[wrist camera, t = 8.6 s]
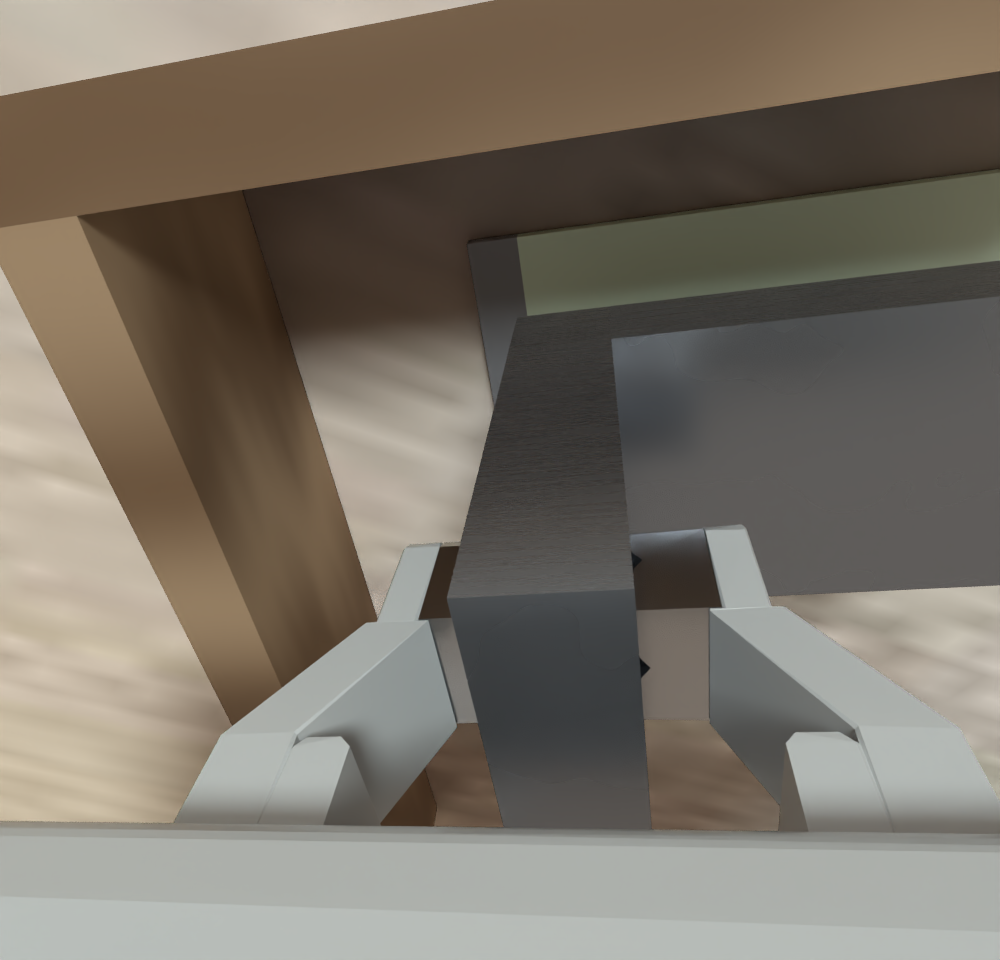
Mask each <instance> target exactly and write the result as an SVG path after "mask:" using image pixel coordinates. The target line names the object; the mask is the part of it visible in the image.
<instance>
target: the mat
mask: <svg viewBox="0 0 1000 960" xmlns="http://www.w3.org/2000/svg"><path fill="white" fill-rule="evenodd" d="M467 248H468V254H469V260H470V266H471V272H472V278H473V284H474V290H475V295H476V301H477V307H478V313H479V319H480V325H481V331H482V336H483V342H484V348H485V354H486V360H487V366H488V372H489V378H490V383H491V389H492V395H493V401H494V407H495V403H496V399H497V395H498V391H499V387H500V383H501V379H502V375H503V371H504V367H505V363H506V359H507V355H508V351H509V347H510V343H511V339H512V335H513V331H514V327H515V323H516V319H517V317H523V316H531V315H540V314H548V313H557V312H565V311H574V310H582V309H591V308H599V307H608V306H616V305H625V304H633V303H642V302H650V301H659V300H667V299H676V298H684V297H693V296H701V295H710V294H718V293H727V292H735V291H744V290H752V289H761V288H769V287H778V286H786V285H795V284H803V283H812V282H820V281H829V280H837V279H846V278H854V277H863V276H871V275H880V274H888V273H897V272H905V271H914V270H922V269H931V268H939V267H948V266H956V265H965V264H973V263H982V262H990V261H999V260H1000V169H996V170H988V171H981V172H973V173H966V174H959V175H951V176H944V177H936V178H929V179H922V180H914V181H907V182H899V183H892V184H885V185H877V186H870V187H863V188H855V189H848V190H840V191H833V192H826V193H818V194H811V195H803V196H796V197H789V198H781V199H774V200H766V201H759V202H752V203H744V204H737V205H730V206H722V207H715V208H707V209H700V210H693V211H685V212H678V213H670V214H663V215H656V216H648V217H641V218H633V219H626V220H619V221H611V222H604V223H597V224H589V225H582V226H574V227H567V228H560V229H552V230H545V231H537V232H530V233H523V234H515V235H508V236H500V237H493V238H486V239H478V240H471V241H469V242H468V243H467Z"/></svg>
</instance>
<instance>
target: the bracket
mask: <svg viewBox="0 0 1000 960" xmlns="http://www.w3.org/2000/svg"><path fill="white" fill-rule="evenodd" d="M739 524H742V525H743V526H744V527H745V528H746V529H747V532H748V535H749V538H750V541H751V544H752V548H753V551H754V554H755V557H756V560H757V563H758V566H759V569H760V572H761V575H762V578H763V581H764V584H765V587H766V590H767V593H768V596H783V595H804V594H825V593H846V592H867V591H888V590H909V589H930V588H951V587H972V586H993V585H1000V260H999V261H990V262H982V263H973V264H965V265H956V266H948V267H939V268H931V269H922V270H914V271H905V272H897V273H888V274H880V275H871V276H863V277H854V278H846V279H837V280H829V281H820V282H812V283H803V284H795V285H786V286H778V287H769V288H761V289H752V290H744V291H735V292H727V293H718V294H710V295H701V296H693V297H684V298H676V299H667V300H659V301H650V302H642V303H633V304H625V305H616V306H608V307H599V308H591V309H582V310H574V311H565V312H557V313H548V314H540V315H531V316H523V317H517V319H516V323H515V327H514V331H513V335H512V339H511V343H510V347H509V351H508V355H507V359H506V363H505V367H504V371H503V375H502V379H501V383H500V387H499V391H498V395H497V399H496V403H495V407H494V411H493V415H492V419H491V423H490V427H489V431H488V435H487V439H486V443H485V447H484V451H483V455H482V459H481V463H480V467H479V471H478V475H477V479H476V483H475V487H474V491H473V495H472V499H471V503H470V507H469V511H468V515H467V519H466V523H465V527H464V531H463V535H462V539H461V543H460V547H459V551H458V555H457V559H456V563H455V567H454V571H453V575H452V579H451V583H450V587H449V591H448V595H447V602H448V606H449V610H450V614H451V618H452V622H453V626H454V630H455V634H456V638H457V642H458V646H459V650H460V654H461V658H462V662H463V666H464V670H465V674H466V678H467V682H468V686H469V690H470V694H471V698H472V702H473V706H474V710H475V714H476V718H477V722H478V726H479V730H480V734H481V738H482V742H483V746H484V750H485V754H486V758H487V762H488V766H489V770H490V774H491V778H492V782H493V786H494V790H495V794H496V798H497V802H498V806H499V810H500V814H501V818H502V822H503V826H504V828H578V829H652V827H651V813H650V799H649V785H648V771H647V757H646V743H645V729H644V715H643V701H642V687H641V673H640V659H639V645H638V631H637V617H636V603H635V589H634V579H633V568H632V557H631V546H630V536H629V534H634V533H649V532H664V531H678V530H693V529H703V528H706V527H717V526H728V525H739Z"/></svg>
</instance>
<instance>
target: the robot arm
mask: <svg viewBox="0 0 1000 960" xmlns="http://www.w3.org/2000/svg"><path fill="white" fill-rule="evenodd" d="M629 536H630V546H631V557H632V568H633V579H634V589H635V603H636V617H637V631H638V645H639V659H640V673H641V687H642V701H643V715H644V719H653V720H710V724H711V725H712V727H713V728H714V729H715V730H716V731H717V732H718V734H719V735H720V736H721V737H722V738H723V739H724V741H725V742H726V743H727V744H728V745H729V747H730V748H731V749H732V750H733V751H734V752H735V754H736V755H737V756H738V757H739V758H740V759H741V761H742V762H743V763H744V764H745V765H746V766H747V768H748V769H749V770H750V771H751V772H752V774H753V775H754V776H755V777H756V778H757V779H758V781H759V782H760V783H761V784H762V785H763V786H764V788H765V789H766V790H767V791H768V792H769V794H770V795H771V796H772V797H773V798H774V799H775V801H776V802H777V803H778V804H779V805H780V816H779V827H778V831H727V830H653V829H578V828H503V827H427V826H381V824H380V823H381V822H382V820H383V819H384V818H385V817H386V815H387V814H388V813H389V812H390V810H391V809H392V808H393V807H394V805H395V804H396V803H397V802H398V800H399V799H400V798H401V797H402V795H403V794H404V793H405V792H406V790H407V789H408V788H409V787H410V785H411V784H412V783H413V782H414V780H415V779H416V778H417V777H418V775H419V774H420V773H421V772H422V770H423V769H424V768H425V767H426V765H427V764H428V763H429V762H430V760H431V759H432V758H433V757H434V756H435V754H436V753H437V752H438V751H439V749H440V748H441V747H442V746H443V744H444V743H445V742H446V741H447V739H448V738H449V737H450V736H451V734H452V733H453V732H454V731H455V729H456V728H457V725H456V724H458V723H478V722H477V718H476V714H475V710H474V706H473V702H472V698H471V694H470V690H469V686H468V682H467V678H466V674H465V670H464V666H463V662H462V658H461V654H460V650H459V646H458V642H457V638H456V634H455V630H454V626H453V622H452V618H451V614H450V610H449V606H448V602H447V595H448V591H449V587H450V583H451V579H452V575H453V571H454V567H455V563H456V559H457V555H458V551H459V547H460V543H461V542H446V543H444V544H443V543H428V544H410V545H409V546H407V547H406V548H405V549H404V550H403V553H402V556H401V558H400V561H399V564H398V566H397V569H396V571H395V574H394V577H393V579H392V582H391V585H390V587H389V590H388V593H387V595H386V598H385V601H384V603H383V606H382V608H381V611H380V614H379V616H378V619H377V622H371V623H365V624H364V625H363V626H361V627H360V628H359V629H357V630H356V631H355V632H354V633H352V634H351V635H350V636H348V637H347V638H346V639H344V640H343V641H342V642H341V643H339V644H338V645H337V646H335V647H334V648H333V649H332V650H330V651H329V652H328V653H326V654H325V655H324V656H322V657H321V658H320V659H319V660H317V661H316V662H315V663H313V664H312V665H311V666H309V667H308V668H307V669H306V670H304V671H303V672H302V673H300V674H299V675H298V676H297V677H295V678H294V679H293V680H291V681H290V682H289V683H287V684H286V685H285V686H284V687H282V688H281V689H280V690H278V691H277V692H276V693H275V694H273V695H272V696H271V697H269V698H268V699H267V700H265V701H264V702H263V703H262V704H260V705H259V706H258V707H256V708H255V709H254V710H253V711H251V712H250V713H249V714H247V715H246V716H245V717H243V718H242V719H241V720H240V721H238V722H237V723H236V724H234V725H233V726H232V727H231V728H229V729H228V730H227V731H225V732H224V733H223V734H221V736H220V738H219V740H218V741H217V743H216V745H215V747H214V749H213V751H212V753H211V754H210V756H209V758H208V760H207V762H206V764H205V765H204V767H203V769H202V771H201V773H200V775H199V776H198V778H197V780H196V782H195V784H194V786H193V788H192V789H191V791H190V793H189V795H188V797H187V799H186V800H185V802H184V804H183V806H182V808H181V810H180V811H179V813H178V815H177V817H176V819H175V821H174V823H120V822H44V821H0V960H1000V801H999V799H998V797H997V796H996V794H995V792H994V790H993V788H992V786H991V785H990V783H989V781H988V779H987V777H986V775H985V773H984V772H983V770H982V768H981V766H980V764H979V762H978V761H977V759H976V757H975V755H974V753H973V751H972V749H971V748H970V746H969V744H968V742H967V740H966V738H965V737H964V735H963V733H962V731H961V729H960V728H959V727H958V726H956V725H955V724H953V723H952V722H950V721H949V720H948V719H946V718H945V717H943V716H942V715H940V714H939V713H937V712H936V711H935V710H933V709H932V708H930V707H929V706H927V705H926V704H924V703H923V702H922V701H920V700H919V699H917V698H916V697H914V696H913V695H912V694H910V693H909V692H907V691H906V690H904V689H903V688H901V687H900V686H899V685H897V684H896V683H894V682H893V681H891V680H890V679H888V678H887V677H886V676H884V675H883V674H881V673H880V672H878V671H877V670H875V669H874V668H873V667H871V666H870V665H868V664H867V663H865V662H864V661H863V660H861V659H860V658H858V657H857V656H855V655H854V654H852V653H851V652H850V651H848V650H847V649H845V648H844V647H842V646H841V645H839V644H838V643H837V642H835V641H834V640H832V639H831V638H829V637H828V636H827V635H825V634H824V633H822V632H821V631H819V630H818V629H816V628H815V627H814V626H812V625H811V624H809V623H808V622H806V621H805V620H803V619H802V618H801V617H799V616H798V615H796V614H795V613H793V612H792V611H790V610H789V609H788V608H786V607H785V606H772V605H771V602H770V599H769V596H768V593H767V590H766V587H765V584H764V581H763V578H762V575H761V572H760V569H759V566H758V563H757V560H756V557H755V554H754V551H753V548H752V544H751V541H750V538H749V535H748V532H747V529H746V528H745V527H744V526H743V525H742V524H739V525H728V526H717V527H706V528H703V529H693V530H678V531H664V532H649V533H634V534H629Z"/></svg>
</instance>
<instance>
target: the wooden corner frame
mask: <svg viewBox="0 0 1000 960" xmlns="http://www.w3.org/2000/svg"><path fill="white" fill-rule="evenodd" d="M997 71H1000V0H494V1H488V2H483V3H478V4H473V5H468V6H463V7H458V8H452V9H447V10H442V11H437V12H432V13H427V14H421V15H416V16H411V17H406V18H401V19H396V20H391V21H385V22H380V23H375V24H370V25H365V26H360V27H354V28H349V29H344V30H339V31H334V32H329V33H324V34H318V35H313V36H308V37H303V38H298V39H293V40H287V41H282V42H277V43H272V44H267V45H262V46H257V47H251V48H246V49H241V50H236V51H231V52H226V53H220V54H215V55H210V56H205V57H200V58H195V59H189V60H184V61H179V62H174V63H169V64H164V65H159V66H153V67H148V68H143V69H138V70H133V71H128V72H122V73H117V74H112V75H107V76H102V77H97V78H92V79H86V80H81V81H76V82H71V83H66V84H61V85H55V86H50V87H45V88H40V89H35V90H30V91H25V92H19V93H14V94H9V95H4V96H0V266H1V268H2V270H3V272H4V274H5V276H6V278H7V280H8V282H9V284H10V286H11V288H12V290H13V292H14V294H15V296H16V298H17V300H18V302H19V304H20V306H21V308H22V309H23V311H24V313H25V315H26V317H27V319H28V321H29V323H30V325H31V327H32V329H33V331H34V333H35V335H36V337H37V339H38V341H39V343H40V345H41V347H42V349H43V351H44V353H45V355H46V357H47V359H48V361H49V363H50V365H51V367H52V369H53V371H54V373H55V375H56V377H57V379H58V381H59V383H60V385H61V387H62V389H63V391H64V393H65V395H66V397H67V399H68V401H69V403H70V405H71V407H72V409H73V411H74V413H75V415H76V417H77V419H78V421H79V423H80V425H81V427H82V428H83V430H84V432H85V434H86V436H87V438H88V440H89V442H90V444H91V446H92V448H93V450H94V452H95V454H96V456H97V458H98V460H99V462H100V464H101V466H102V468H103V470H104V472H105V474H106V476H107V478H108V480H109V482H110V484H111V486H112V488H113V490H114V492H115V494H116V496H117V498H118V500H119V502H120V504H121V506H122V508H123V510H124V512H125V514H126V516H127V518H128V520H129V522H130V524H131V526H132V528H133V530H134V532H135V534H136V536H137V538H138V540H139V542H140V544H141V546H142V547H143V549H144V551H145V553H146V555H147V557H148V559H149V561H150V563H151V565H152V567H153V569H154V571H155V573H156V575H157V577H158V579H159V581H160V583H161V585H162V587H163V589H164V591H165V593H166V595H167V597H168V599H169V601H170V603H171V605H172V607H173V609H174V611H175V613H176V615H177V617H178V619H179V621H180V623H181V625H182V627H183V629H184V631H185V633H186V635H187V637H188V639H189V641H190V643H191V645H192V647H193V649H194V651H195V653H196V655H197V657H198V659H199V661H200V663H201V665H202V666H203V668H204V670H205V672H206V674H207V676H208V678H209V680H210V682H211V684H212V686H213V688H214V690H215V692H216V694H217V696H218V698H219V700H220V702H221V704H222V706H223V708H224V710H225V712H226V714H227V716H228V718H229V720H230V722H231V724H232V726H233V725H234V724H236V723H237V722H238V721H240V720H241V719H242V718H243V717H245V716H246V715H247V714H249V713H250V712H251V711H253V710H254V709H255V708H256V707H258V706H259V705H260V704H262V703H263V702H264V701H265V700H267V699H268V698H269V697H271V696H272V695H273V694H275V693H276V692H277V691H278V690H280V689H281V688H282V687H284V686H285V685H286V684H287V683H289V682H290V681H291V680H293V679H294V678H295V677H297V676H298V675H299V674H300V673H302V672H303V671H304V670H306V669H307V668H308V667H309V666H311V665H312V664H313V663H315V662H316V661H317V660H319V659H320V658H321V657H322V656H324V655H325V654H326V653H328V652H329V651H330V650H332V649H333V648H334V647H335V646H337V645H338V644H339V643H341V642H342V641H343V640H344V639H346V638H347V637H348V636H350V635H351V634H352V633H354V632H355V631H356V630H357V629H359V628H360V627H361V626H363V625H364V624H365V623H371V622H377V617H376V613H375V610H374V607H373V604H372V601H371V598H370V594H369V591H368V588H367V585H366V582H365V579H364V575H363V572H362V569H361V566H360V563H359V560H358V556H357V553H356V550H355V547H354V544H353V541H352V537H351V534H350V531H349V528H348V525H347V522H346V518H345V515H344V512H343V509H342V506H341V503H340V499H339V496H338V493H337V490H336V487H335V484H334V480H333V477H332V474H331V471H330V468H329V465H328V461H327V458H326V455H325V452H324V449H323V446H322V443H321V439H320V436H319V433H318V430H317V427H316V424H315V420H314V417H313V414H312V411H311V408H310V405H309V401H308V398H307V395H306V392H305V389H304V386H303V382H302V379H301V376H300V373H299V370H298V367H297V363H296V360H295V357H294V354H293V351H292V348H291V344H290V341H289V338H288V335H287V332H286V329H285V325H284V322H283V319H282V316H281V313H280V310H279V306H278V303H277V300H276V297H275V294H274V291H273V287H272V284H271V281H270V278H269V275H268V272H267V268H266V265H265V262H264V259H263V256H262V253H261V249H260V246H259V243H258V240H257V237H256V234H255V230H254V227H253V224H252V221H251V218H250V215H249V211H248V208H247V205H246V202H245V199H244V196H243V192H242V190H245V189H251V188H257V187H264V186H270V185H277V184H283V183H289V182H296V181H302V180H308V179H315V178H321V177H328V176H334V175H340V174H347V173H353V172H359V171H366V170H372V169H379V168H385V167H391V166H398V165H404V164H410V163H417V162H423V161H430V160H436V159H442V158H449V157H455V156H461V155H468V154H474V153H481V152H487V151H493V150H500V149H506V148H512V147H519V146H525V145H532V144H538V143H544V142H551V141H557V140H563V139H570V138H576V137H583V136H589V135H595V134H602V133H608V132H614V131H621V130H627V129H634V128H640V127H646V126H653V125H659V124H665V123H672V122H678V121H685V120H691V119H697V118H704V117H710V116H716V115H723V114H729V113H736V112H742V111H748V110H755V109H761V108H767V107H774V106H780V105H787V104H793V103H799V102H806V101H812V100H818V99H825V98H831V97H838V96H844V95H850V94H857V93H863V92H869V91H876V90H882V89H889V88H895V87H901V86H908V85H914V84H920V83H927V82H933V81H940V80H946V79H952V78H959V77H965V76H971V75H978V74H984V73H991V72H997ZM436 811H437V807H436V803H435V800H434V797H433V794H432V791H431V788H430V784H429V781H428V778H427V775H426V772H425V769H423V770H422V772H421V773H420V774H419V775H418V777H417V778H416V779H415V780H414V782H413V783H412V784H411V785H410V787H409V788H408V789H407V790H406V792H405V793H404V794H403V795H402V797H401V798H400V799H399V800H398V802H397V803H396V804H395V805H394V807H393V808H392V809H391V810H390V812H389V813H388V814H387V815H386V817H385V818H384V819H383V820H382V822H381V823H380V824H381V826H427V827H433V826H434V821H435V816H436Z"/></svg>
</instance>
